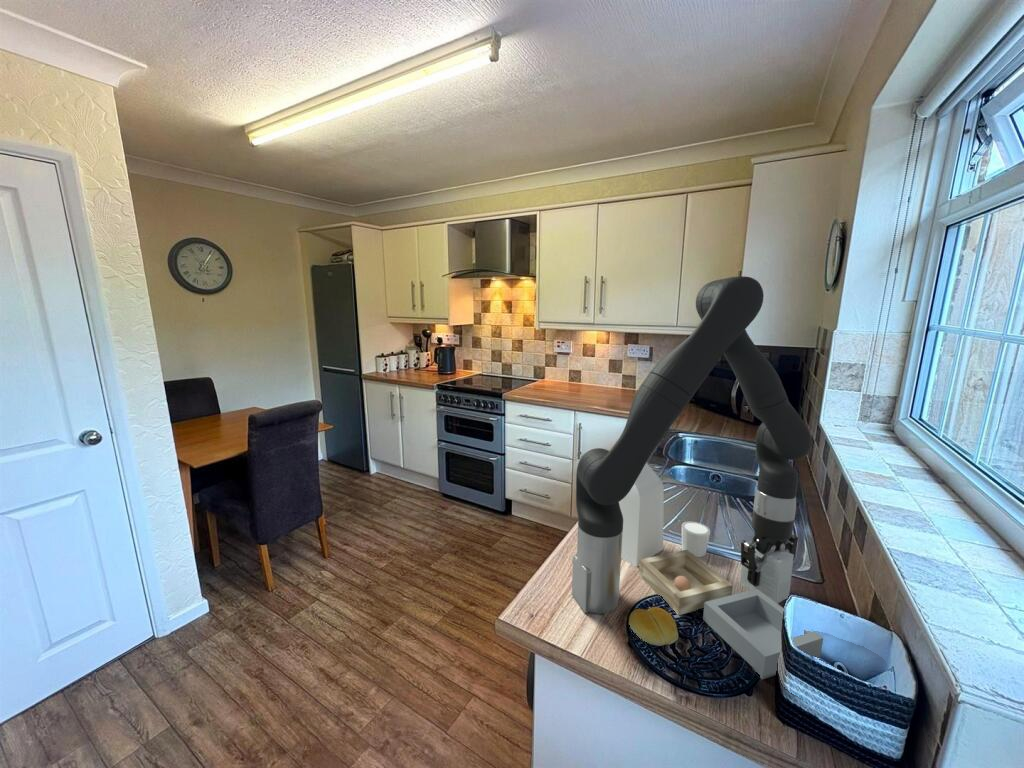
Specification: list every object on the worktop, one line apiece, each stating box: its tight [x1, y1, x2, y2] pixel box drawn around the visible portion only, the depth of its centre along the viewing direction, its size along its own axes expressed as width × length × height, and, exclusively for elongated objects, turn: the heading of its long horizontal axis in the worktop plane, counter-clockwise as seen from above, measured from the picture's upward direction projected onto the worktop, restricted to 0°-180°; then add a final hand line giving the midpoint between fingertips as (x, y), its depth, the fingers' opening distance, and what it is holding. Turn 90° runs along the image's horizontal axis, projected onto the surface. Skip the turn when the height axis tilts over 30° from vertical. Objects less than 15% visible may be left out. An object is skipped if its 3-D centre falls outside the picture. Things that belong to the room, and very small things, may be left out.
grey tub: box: [702, 589, 824, 680], centre depth 76 cm, size 14×14×4 cm
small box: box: [739, 548, 795, 605], centre depth 89 cm, size 8×6×10 cm
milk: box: [619, 461, 665, 568], centre depth 104 cm, size 12×12×26 cm
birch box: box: [637, 550, 733, 616], centre depth 90 cm, size 14×14×4 cm
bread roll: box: [628, 606, 679, 647], centre depth 78 cm, size 8×9×4 cm
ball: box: [674, 576, 691, 591], centre depth 89 cm, size 3×3×3 cm
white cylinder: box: [681, 521, 711, 558], centre depth 104 cm, size 7×7×7 cm
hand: (764, 580), depth 90 cm, fingers closed on small box, 6 cm apart
